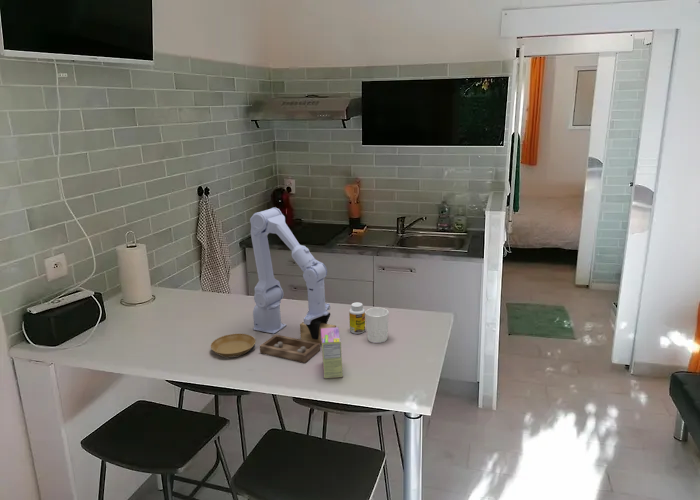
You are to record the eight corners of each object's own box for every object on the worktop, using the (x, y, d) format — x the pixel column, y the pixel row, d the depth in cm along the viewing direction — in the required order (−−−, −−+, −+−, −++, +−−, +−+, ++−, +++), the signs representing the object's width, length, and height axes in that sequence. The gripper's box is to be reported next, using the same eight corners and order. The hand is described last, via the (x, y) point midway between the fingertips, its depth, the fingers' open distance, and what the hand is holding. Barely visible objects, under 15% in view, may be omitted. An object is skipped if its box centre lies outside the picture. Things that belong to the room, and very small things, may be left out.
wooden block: (300, 340, 186) (299, 324, 184) (307, 335, 189) (306, 319, 187) (331, 346, 180) (330, 330, 178) (336, 341, 183) (336, 325, 182)
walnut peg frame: (260, 353, 177) (259, 345, 176) (276, 341, 185) (275, 334, 184) (305, 363, 169) (304, 355, 168) (320, 350, 177) (319, 343, 176)
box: (322, 362, 169) (320, 328, 166) (340, 361, 170) (338, 326, 166) (323, 379, 159) (321, 342, 156) (342, 377, 160) (341, 341, 156)
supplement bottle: (355, 335, 187) (354, 308, 184) (346, 330, 191) (345, 303, 189) (368, 331, 190) (367, 304, 187) (359, 326, 194) (358, 300, 191)
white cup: (392, 336, 186) (391, 309, 183) (384, 345, 179) (383, 317, 176) (371, 332, 189) (370, 306, 186) (362, 341, 182) (361, 314, 180)
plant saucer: (265, 345, 183) (264, 338, 182) (236, 364, 170) (235, 356, 170) (231, 337, 190) (230, 330, 189) (201, 355, 177) (201, 347, 177)
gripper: (315, 308, 172) (318, 346, 176) (337, 293, 184) (338, 329, 188) (297, 305, 175) (299, 343, 179) (319, 290, 188) (321, 326, 191)
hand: (318, 335), depth 184 cm, fingers closed on wooden block, 4 cm apart
